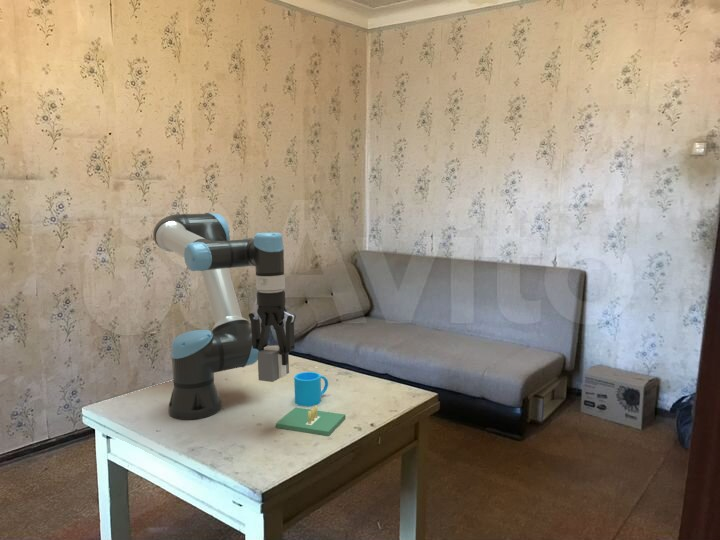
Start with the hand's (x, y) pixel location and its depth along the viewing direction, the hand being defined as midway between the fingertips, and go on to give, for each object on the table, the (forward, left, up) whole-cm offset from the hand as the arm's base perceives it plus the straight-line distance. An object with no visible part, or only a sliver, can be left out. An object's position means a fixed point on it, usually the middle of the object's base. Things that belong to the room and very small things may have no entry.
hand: (274, 375), depth 148 cm
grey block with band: (0, 0, 0) cm, 0 cm away
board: (+7, +7, -15) cm, 18 cm away
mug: (0, +23, -16) cm, 28 cm away
